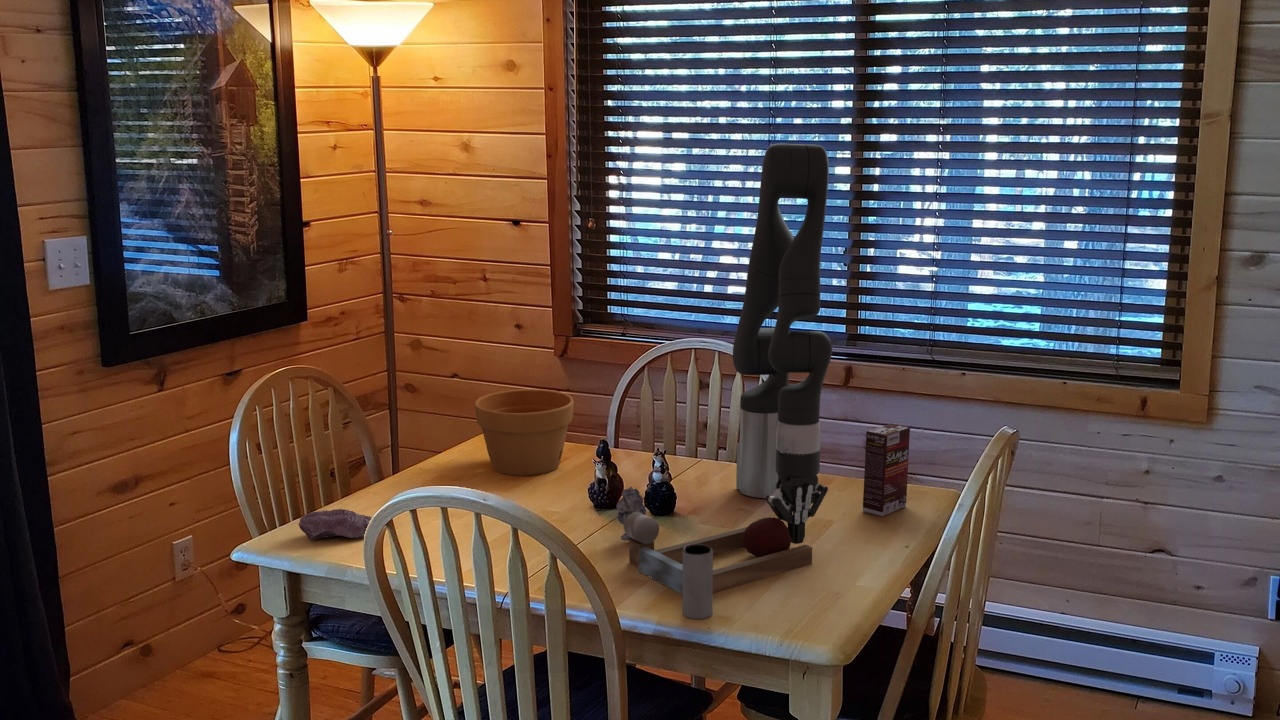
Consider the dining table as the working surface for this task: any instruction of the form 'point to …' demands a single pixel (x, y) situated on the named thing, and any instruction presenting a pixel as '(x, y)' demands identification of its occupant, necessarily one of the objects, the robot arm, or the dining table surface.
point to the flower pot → (524, 429)
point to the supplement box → (886, 469)
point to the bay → (670, 559)
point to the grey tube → (697, 581)
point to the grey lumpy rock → (629, 506)
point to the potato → (766, 537)
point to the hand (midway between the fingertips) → (795, 542)
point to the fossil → (334, 524)
